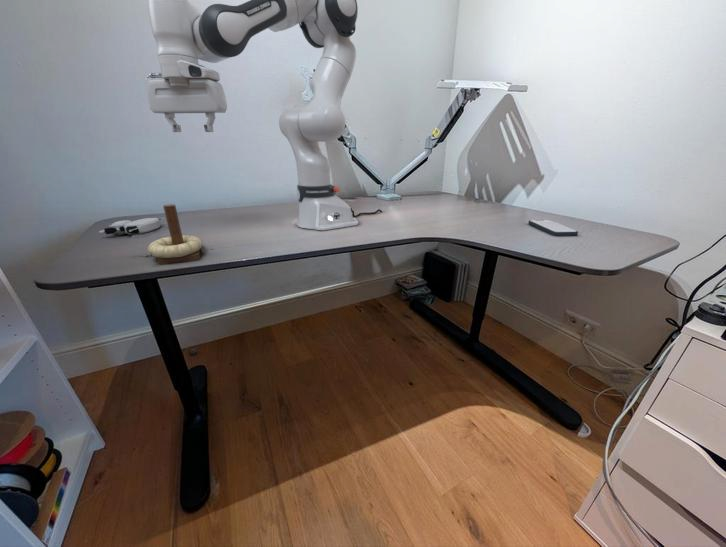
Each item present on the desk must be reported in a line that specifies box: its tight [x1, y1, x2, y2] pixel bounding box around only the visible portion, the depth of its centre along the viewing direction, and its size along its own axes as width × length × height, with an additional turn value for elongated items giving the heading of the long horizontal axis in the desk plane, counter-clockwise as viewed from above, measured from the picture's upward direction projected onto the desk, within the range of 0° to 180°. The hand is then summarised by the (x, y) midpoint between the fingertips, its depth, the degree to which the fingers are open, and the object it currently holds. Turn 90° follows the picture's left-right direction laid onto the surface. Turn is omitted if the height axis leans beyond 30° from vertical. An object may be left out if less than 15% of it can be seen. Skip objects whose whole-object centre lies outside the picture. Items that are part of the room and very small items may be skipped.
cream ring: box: [147, 234, 203, 258], centre depth 81 cm, size 12×12×3 cm
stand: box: [157, 203, 202, 265], centre depth 80 cm, size 9×9×14 cm
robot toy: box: [98, 217, 165, 236], centre depth 101 cm, size 12×4×15 cm
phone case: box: [527, 219, 579, 237], centre depth 110 cm, size 9×2×16 cm
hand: (193, 132), depth 85 cm, fingers open, 8 cm apart
